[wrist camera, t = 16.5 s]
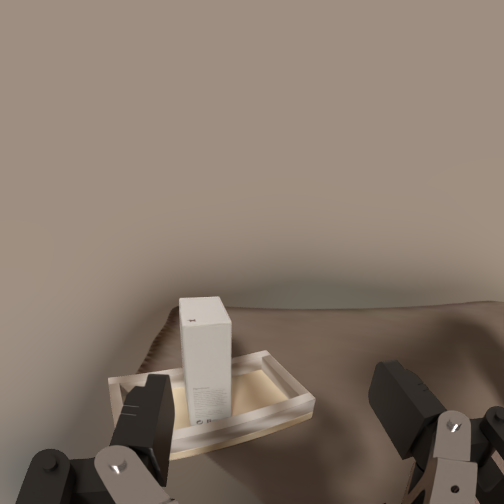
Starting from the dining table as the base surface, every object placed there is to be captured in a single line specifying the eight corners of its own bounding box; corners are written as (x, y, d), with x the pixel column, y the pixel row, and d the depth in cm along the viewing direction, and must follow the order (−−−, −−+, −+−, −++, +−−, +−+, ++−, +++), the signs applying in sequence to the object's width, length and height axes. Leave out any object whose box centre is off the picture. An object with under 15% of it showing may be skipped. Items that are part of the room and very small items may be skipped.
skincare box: (232, 424, 27) (233, 322, 24) (190, 428, 26) (180, 326, 23) (221, 389, 33) (220, 294, 30) (184, 392, 32) (177, 297, 29)
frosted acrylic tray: (264, 368, 39) (265, 350, 38) (311, 417, 30) (315, 398, 29) (113, 397, 30) (108, 377, 30) (126, 467, 21) (118, 448, 20)
